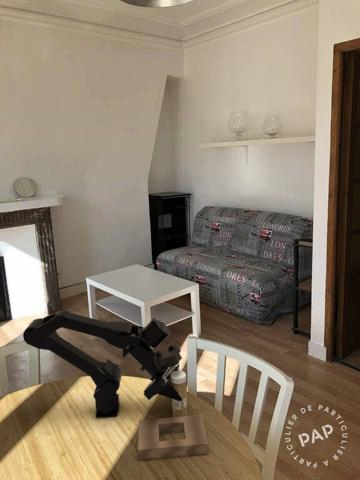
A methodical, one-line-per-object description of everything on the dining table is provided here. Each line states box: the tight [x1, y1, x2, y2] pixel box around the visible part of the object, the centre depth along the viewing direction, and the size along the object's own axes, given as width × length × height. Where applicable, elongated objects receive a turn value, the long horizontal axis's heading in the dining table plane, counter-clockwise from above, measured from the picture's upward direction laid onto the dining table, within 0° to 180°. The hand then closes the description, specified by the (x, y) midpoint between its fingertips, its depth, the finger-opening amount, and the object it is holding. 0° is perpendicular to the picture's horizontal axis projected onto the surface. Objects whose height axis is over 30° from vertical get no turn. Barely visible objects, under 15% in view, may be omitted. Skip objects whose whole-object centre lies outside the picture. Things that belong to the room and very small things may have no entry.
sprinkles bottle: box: [170, 370, 189, 417], centre depth 123 cm, size 5×5×13 cm
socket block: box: [137, 414, 209, 461], centre depth 113 cm, size 18×12×3 cm, turn 94°
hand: (183, 395), depth 122 cm, fingers closed on sprinkles bottle, 4 cm apart
